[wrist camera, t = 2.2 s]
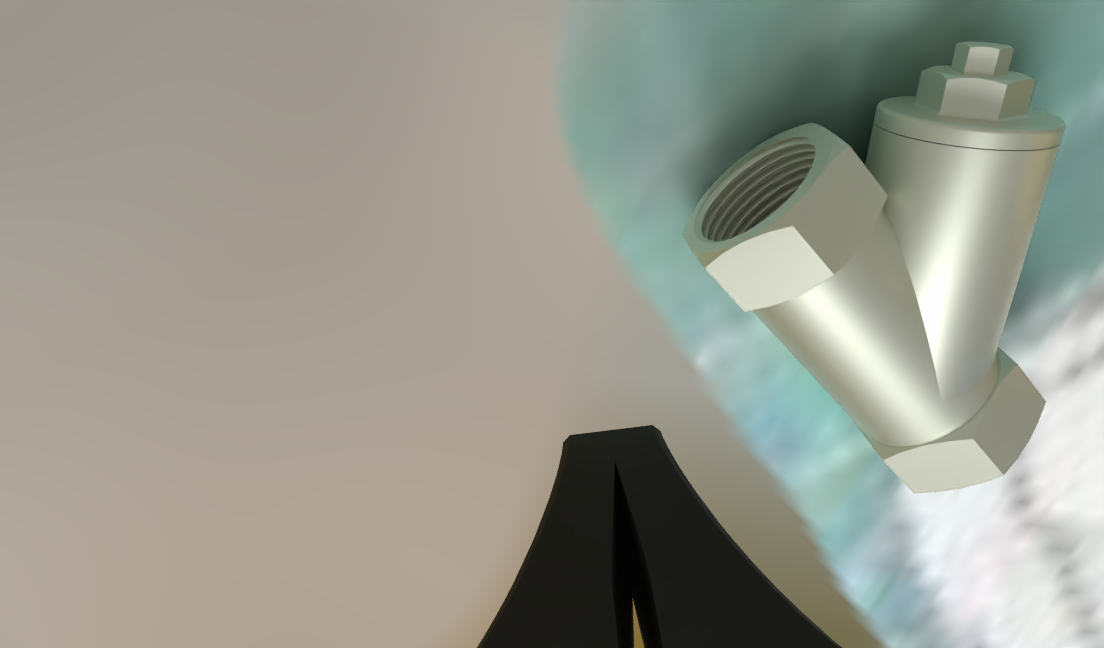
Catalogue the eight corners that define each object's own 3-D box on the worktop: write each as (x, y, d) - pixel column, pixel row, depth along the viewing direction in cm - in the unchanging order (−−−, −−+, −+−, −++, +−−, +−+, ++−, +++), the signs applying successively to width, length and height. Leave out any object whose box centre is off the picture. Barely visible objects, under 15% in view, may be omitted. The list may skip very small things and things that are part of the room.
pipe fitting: (924, -11, 16) (668, 214, 18) (1044, 5, 13) (712, 283, 14) (1097, 254, 19) (863, 425, 21) (1233, 325, 16) (938, 525, 17)
